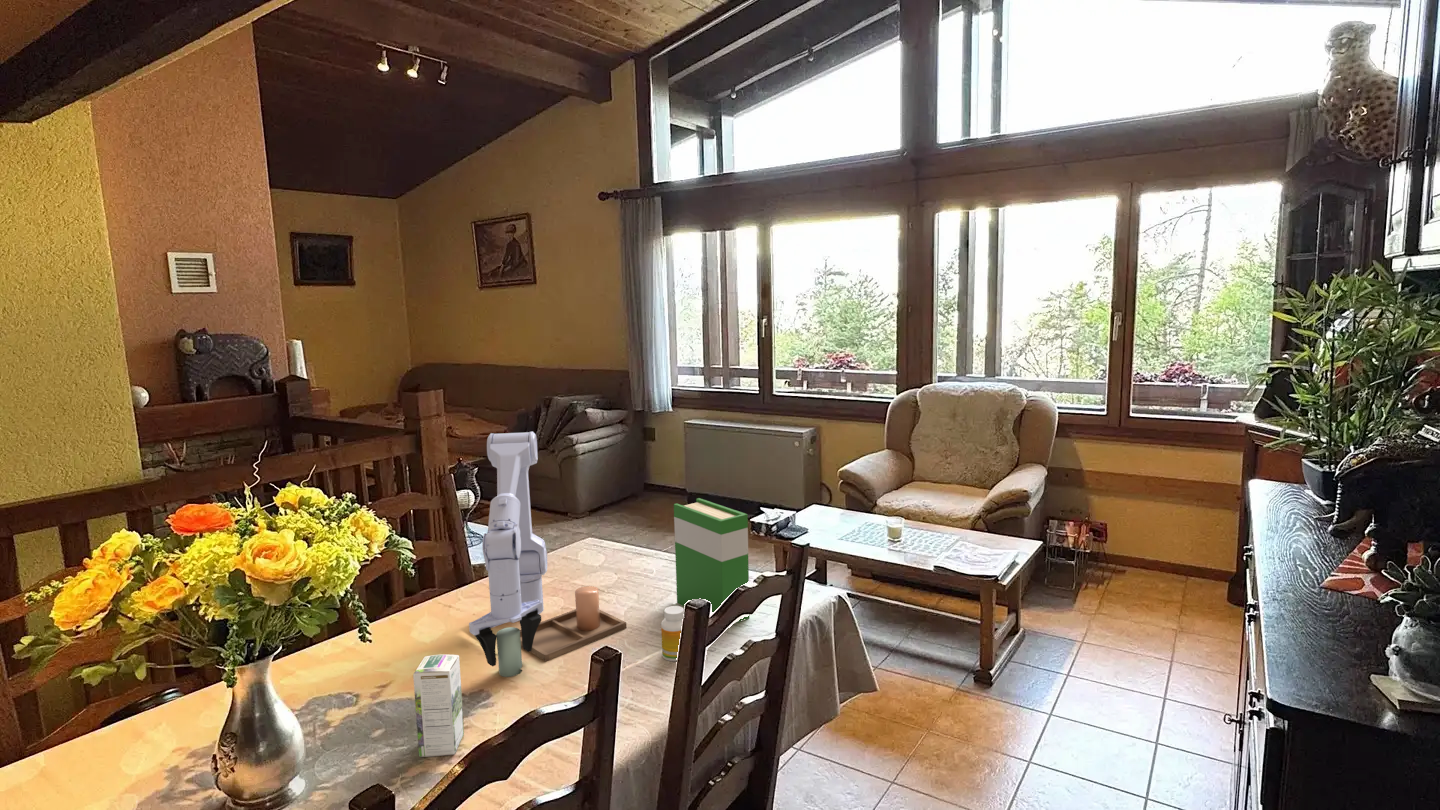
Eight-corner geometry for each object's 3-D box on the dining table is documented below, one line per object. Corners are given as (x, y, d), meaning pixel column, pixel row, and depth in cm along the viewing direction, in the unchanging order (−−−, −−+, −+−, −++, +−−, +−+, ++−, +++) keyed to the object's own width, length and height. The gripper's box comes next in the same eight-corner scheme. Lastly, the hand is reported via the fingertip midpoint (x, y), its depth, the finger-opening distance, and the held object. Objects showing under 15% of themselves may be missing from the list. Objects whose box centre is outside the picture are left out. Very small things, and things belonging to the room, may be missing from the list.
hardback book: (677, 602, 174) (673, 504, 171) (702, 594, 179) (699, 498, 175) (723, 628, 160) (720, 521, 157) (749, 618, 165) (747, 514, 161)
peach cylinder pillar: (572, 625, 161) (570, 591, 160) (591, 618, 165) (589, 584, 164) (585, 632, 158) (583, 597, 157) (604, 625, 161) (603, 590, 160)
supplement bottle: (685, 663, 146) (683, 616, 144) (659, 661, 147) (657, 614, 145) (691, 650, 151) (690, 604, 149) (666, 648, 152) (664, 603, 150)
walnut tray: (510, 642, 156) (509, 633, 156) (589, 612, 170) (588, 604, 170) (546, 664, 146) (545, 655, 146) (626, 631, 160) (626, 622, 160)
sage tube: (494, 671, 144) (492, 632, 143) (515, 663, 147) (512, 625, 146) (506, 679, 141) (503, 639, 140) (526, 670, 144) (524, 632, 143)
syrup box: (429, 737, 123) (422, 655, 121) (465, 734, 123) (459, 652, 121) (418, 758, 117) (410, 672, 115) (456, 755, 118) (449, 670, 116)
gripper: (479, 608, 134) (485, 678, 136) (549, 584, 144) (553, 650, 146) (461, 597, 139) (467, 665, 141) (530, 575, 149) (534, 639, 151)
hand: (509, 657), depth 144 cm, fingers open, 7 cm apart
